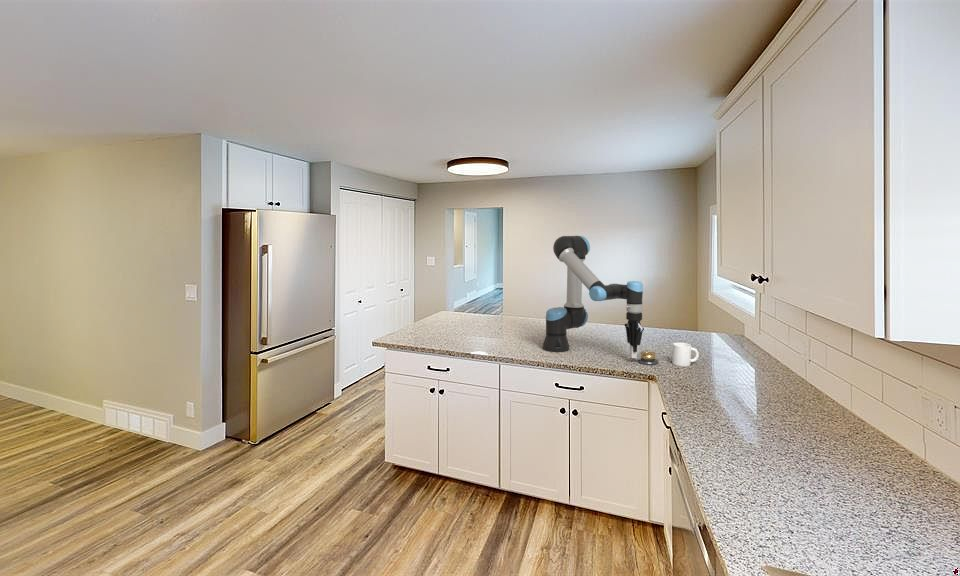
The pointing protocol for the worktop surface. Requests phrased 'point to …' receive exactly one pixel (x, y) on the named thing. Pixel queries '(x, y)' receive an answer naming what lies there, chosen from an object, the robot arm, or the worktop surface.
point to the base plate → (648, 362)
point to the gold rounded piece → (646, 356)
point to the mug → (683, 354)
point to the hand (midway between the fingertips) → (633, 357)
